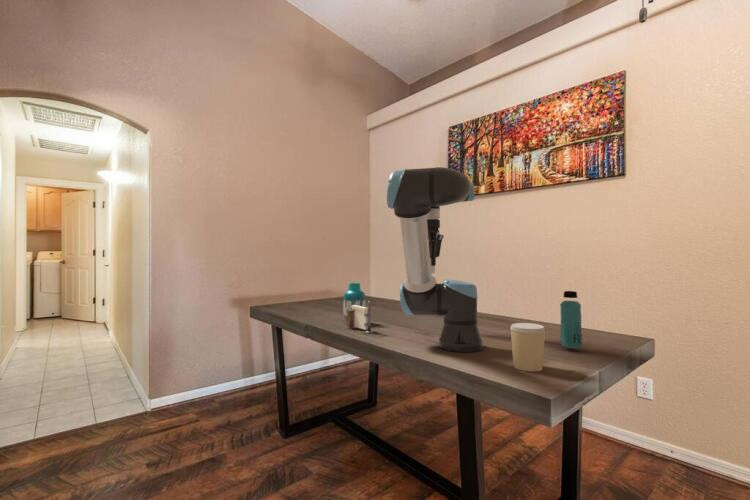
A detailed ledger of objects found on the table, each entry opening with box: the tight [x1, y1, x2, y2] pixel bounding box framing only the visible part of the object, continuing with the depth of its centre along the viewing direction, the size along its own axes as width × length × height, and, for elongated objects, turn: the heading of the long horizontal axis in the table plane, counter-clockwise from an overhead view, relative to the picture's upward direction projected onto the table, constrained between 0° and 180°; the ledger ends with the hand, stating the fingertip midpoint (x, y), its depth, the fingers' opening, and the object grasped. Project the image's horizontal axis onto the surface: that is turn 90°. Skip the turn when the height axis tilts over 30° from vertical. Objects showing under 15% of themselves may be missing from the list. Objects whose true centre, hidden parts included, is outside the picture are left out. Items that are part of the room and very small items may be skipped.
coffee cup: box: [509, 322, 546, 372], centre depth 105 cm, size 9×9×12 cm
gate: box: [351, 305, 368, 331], centre depth 157 cm, size 12×2×9 cm, turn 35°
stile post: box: [346, 309, 355, 330], centre depth 161 cm, size 3×3×8 cm
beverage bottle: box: [559, 290, 583, 349], centre depth 123 cm, size 6×7×20 cm
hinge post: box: [364, 300, 375, 334], centre depth 152 cm, size 4×4×13 cm
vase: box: [342, 282, 367, 322], centre depth 172 cm, size 11×11×19 cm
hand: (431, 273), depth 158 cm, fingers closed
